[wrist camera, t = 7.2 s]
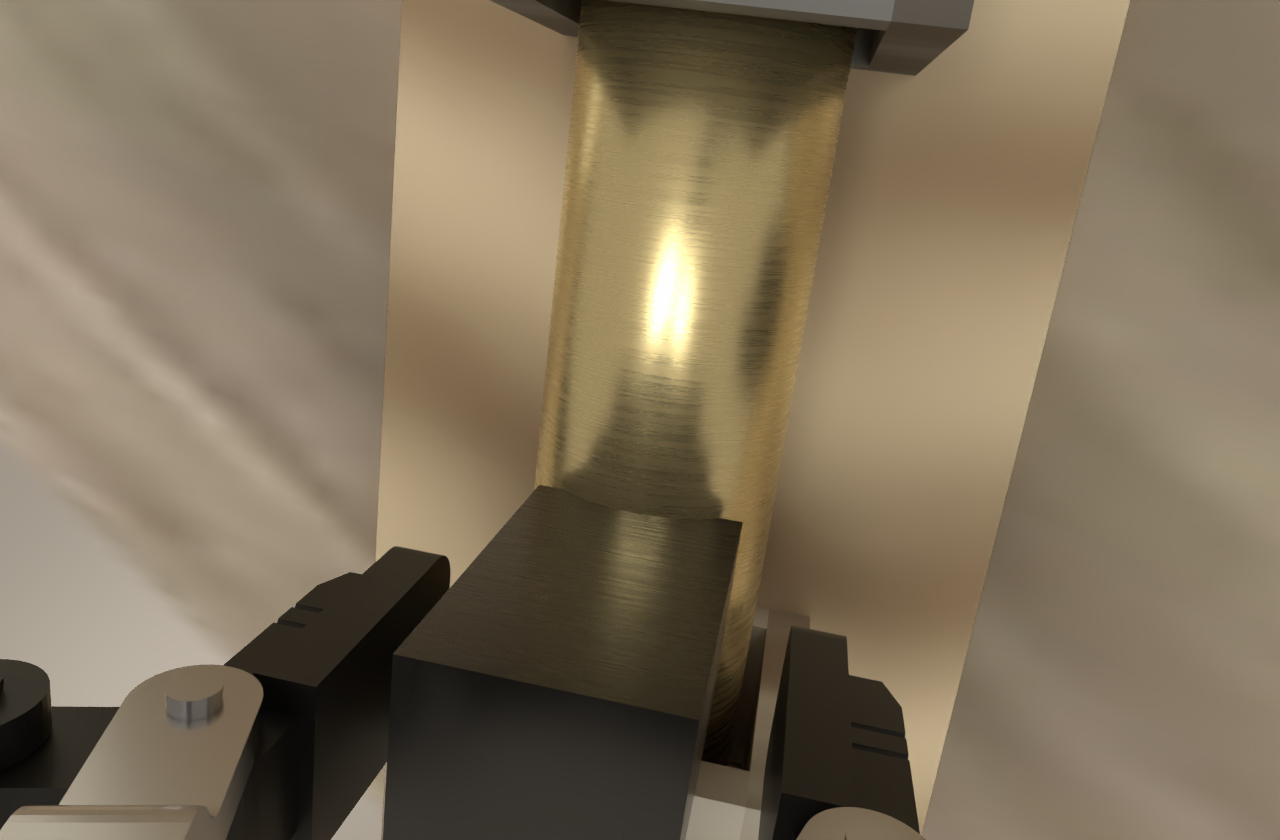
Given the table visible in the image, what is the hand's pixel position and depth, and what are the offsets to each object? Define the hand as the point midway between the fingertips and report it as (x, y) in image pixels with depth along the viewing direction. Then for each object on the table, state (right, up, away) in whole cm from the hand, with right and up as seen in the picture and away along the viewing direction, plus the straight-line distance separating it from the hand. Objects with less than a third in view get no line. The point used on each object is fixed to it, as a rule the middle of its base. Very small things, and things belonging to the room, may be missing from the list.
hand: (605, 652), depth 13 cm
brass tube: (+1, +5, +3) cm, 6 cm away
